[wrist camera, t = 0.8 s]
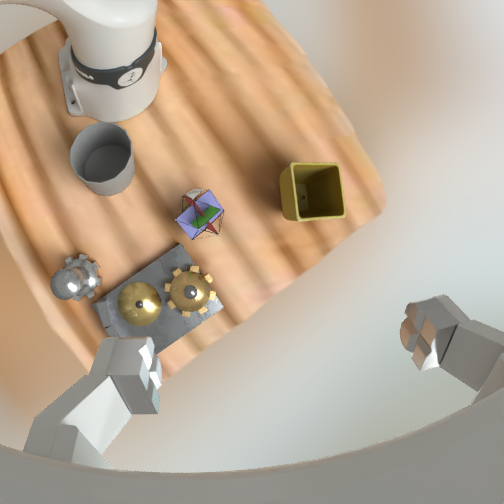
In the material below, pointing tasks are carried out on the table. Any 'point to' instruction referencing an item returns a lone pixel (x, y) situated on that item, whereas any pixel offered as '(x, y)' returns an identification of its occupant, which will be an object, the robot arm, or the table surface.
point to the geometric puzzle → (199, 213)
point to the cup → (103, 158)
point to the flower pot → (312, 191)
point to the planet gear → (76, 279)
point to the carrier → (151, 304)
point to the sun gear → (189, 290)
